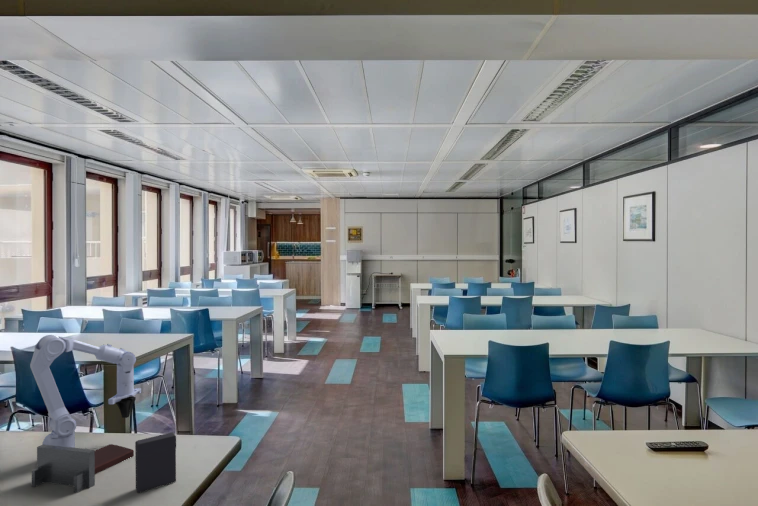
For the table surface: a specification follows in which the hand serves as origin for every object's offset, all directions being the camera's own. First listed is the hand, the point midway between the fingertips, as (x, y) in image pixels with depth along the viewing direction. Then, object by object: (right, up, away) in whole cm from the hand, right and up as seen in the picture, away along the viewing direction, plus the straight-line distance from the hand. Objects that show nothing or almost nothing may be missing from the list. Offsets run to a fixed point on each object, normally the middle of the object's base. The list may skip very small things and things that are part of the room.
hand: (125, 417), depth 176 cm
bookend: (-1, -9, -34) cm, 35 cm away
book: (+1, -10, -20) cm, 22 cm away
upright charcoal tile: (+29, -9, -34) cm, 45 cm away
